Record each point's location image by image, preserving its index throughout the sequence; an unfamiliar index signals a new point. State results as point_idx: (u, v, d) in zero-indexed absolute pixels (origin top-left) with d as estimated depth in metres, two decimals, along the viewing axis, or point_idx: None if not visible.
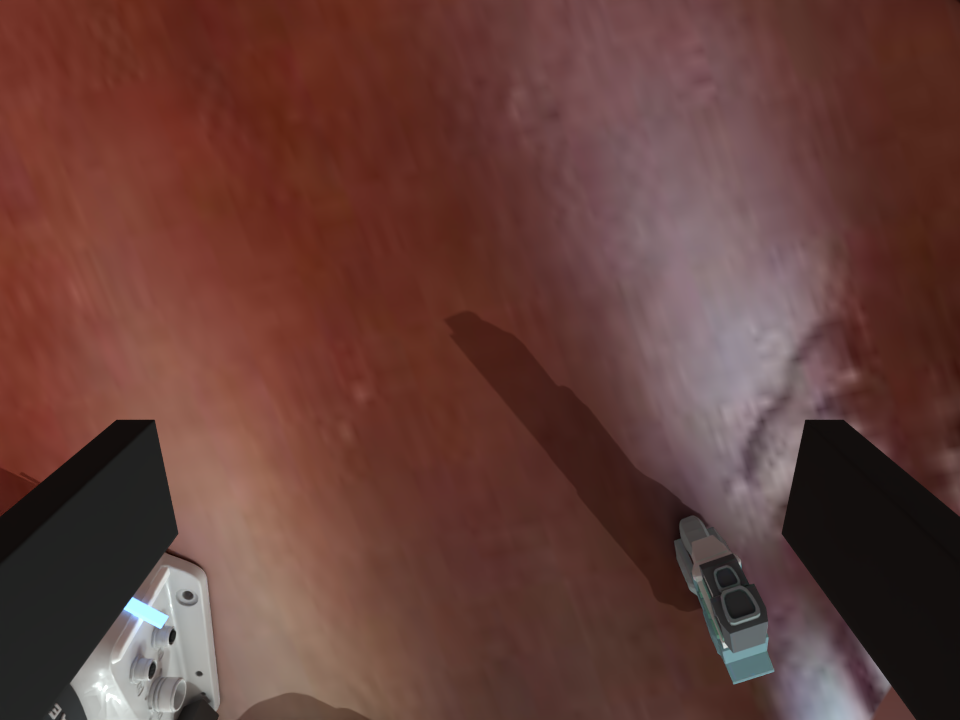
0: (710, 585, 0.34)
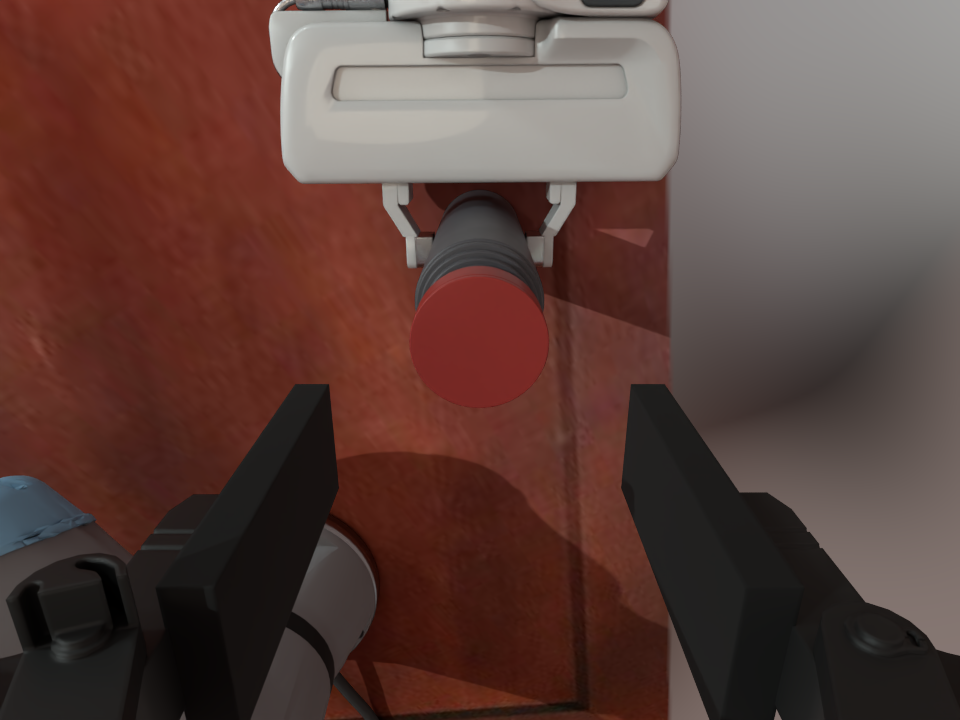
0: None
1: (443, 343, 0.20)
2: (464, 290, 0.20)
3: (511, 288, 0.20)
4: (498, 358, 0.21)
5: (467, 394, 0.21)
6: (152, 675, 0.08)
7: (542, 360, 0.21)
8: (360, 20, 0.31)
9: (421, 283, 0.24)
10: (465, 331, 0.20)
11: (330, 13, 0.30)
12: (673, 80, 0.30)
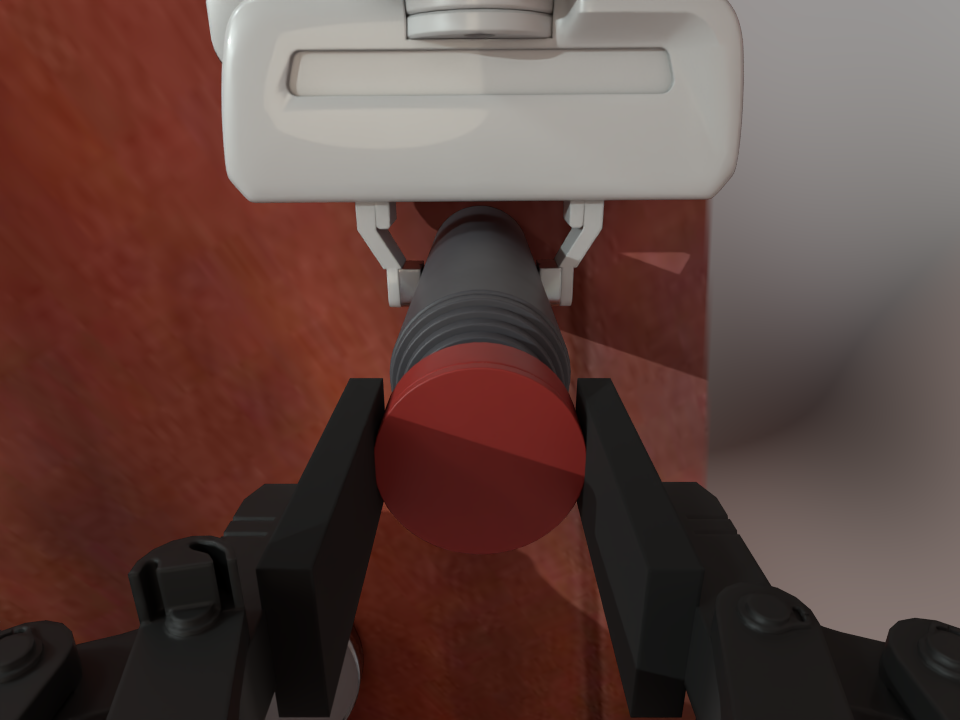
0: None
1: (425, 464, 0.13)
2: (457, 388, 0.13)
3: (530, 385, 0.13)
4: (509, 486, 0.13)
5: (462, 536, 0.14)
6: (254, 658, 0.08)
7: (576, 489, 0.13)
8: None
9: (398, 352, 0.17)
10: (458, 447, 0.13)
11: None
12: (735, 69, 0.23)
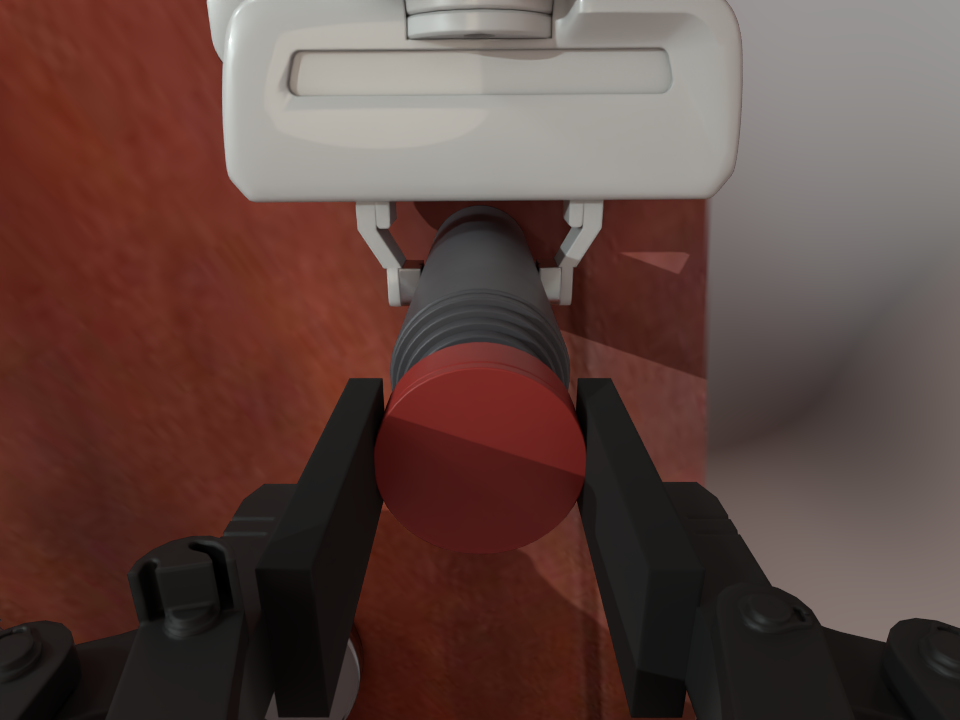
0: None
1: (484, 513, 0.14)
2: (398, 495, 0.14)
3: (383, 435, 0.13)
4: (498, 438, 0.13)
5: (564, 474, 0.13)
6: (253, 658, 0.08)
7: (492, 374, 0.13)
8: None
9: (398, 351, 0.17)
10: (461, 487, 0.14)
11: None
12: (734, 69, 0.23)
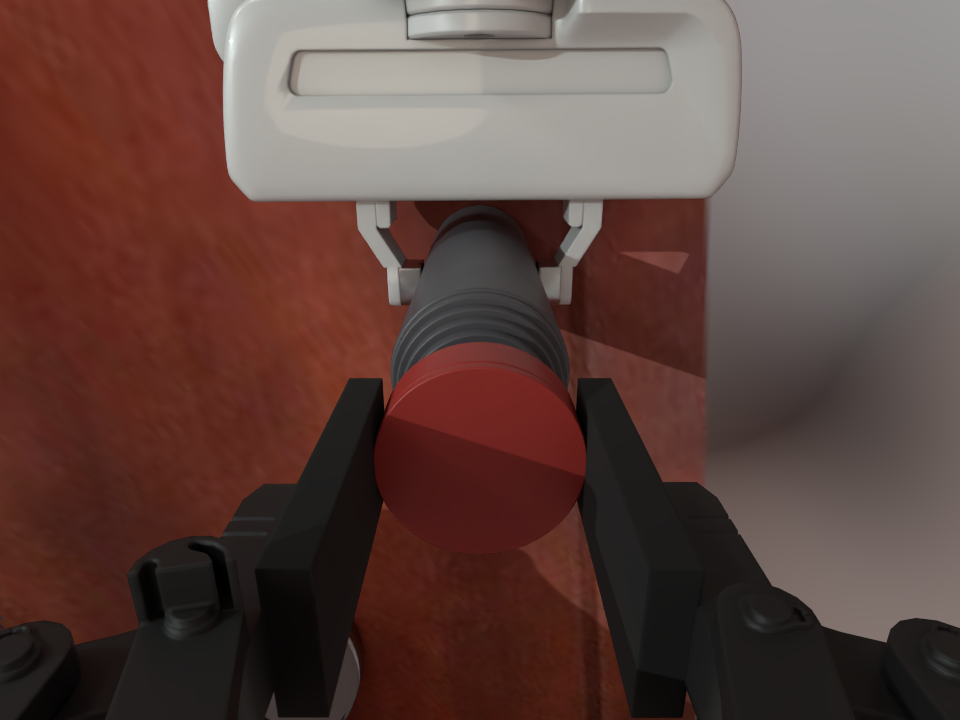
0: None
1: (534, 457, 0.13)
2: (521, 531, 0.14)
3: (458, 548, 0.14)
4: (445, 454, 0.13)
5: (476, 389, 0.13)
6: (253, 658, 0.08)
7: (379, 468, 0.13)
8: None
9: (398, 350, 0.17)
10: (505, 480, 0.13)
11: None
12: (733, 69, 0.23)
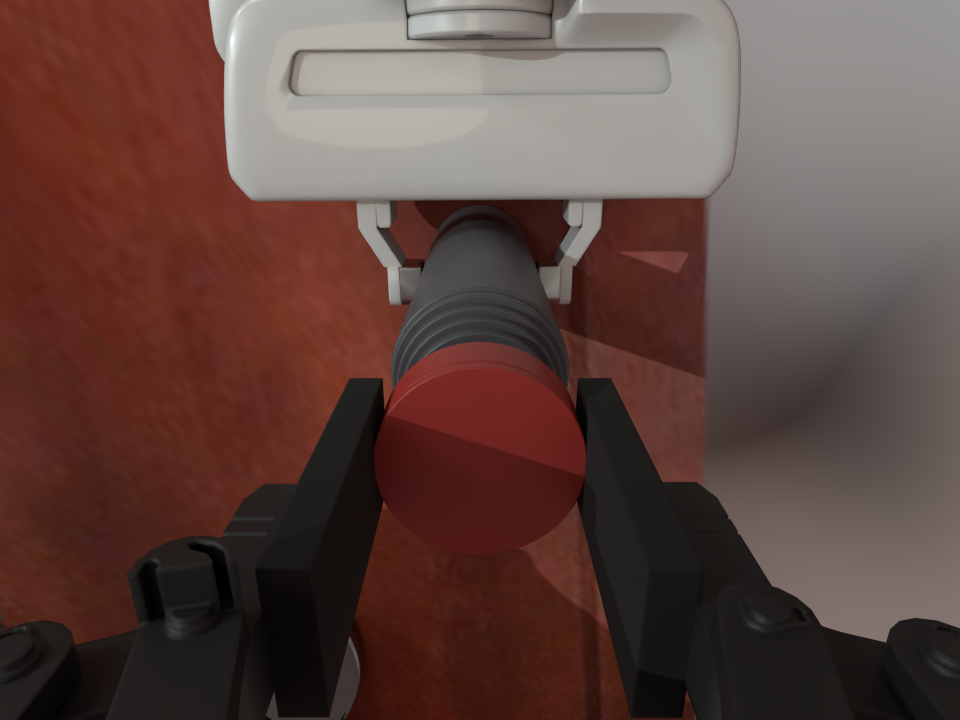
0: None
1: (461, 420, 0.13)
2: (554, 419, 0.13)
3: (580, 476, 0.13)
4: (471, 497, 0.14)
5: (397, 479, 0.13)
6: (253, 658, 0.08)
7: (493, 549, 0.14)
8: None
9: (399, 349, 0.17)
10: (493, 442, 0.13)
11: None
12: (732, 69, 0.23)
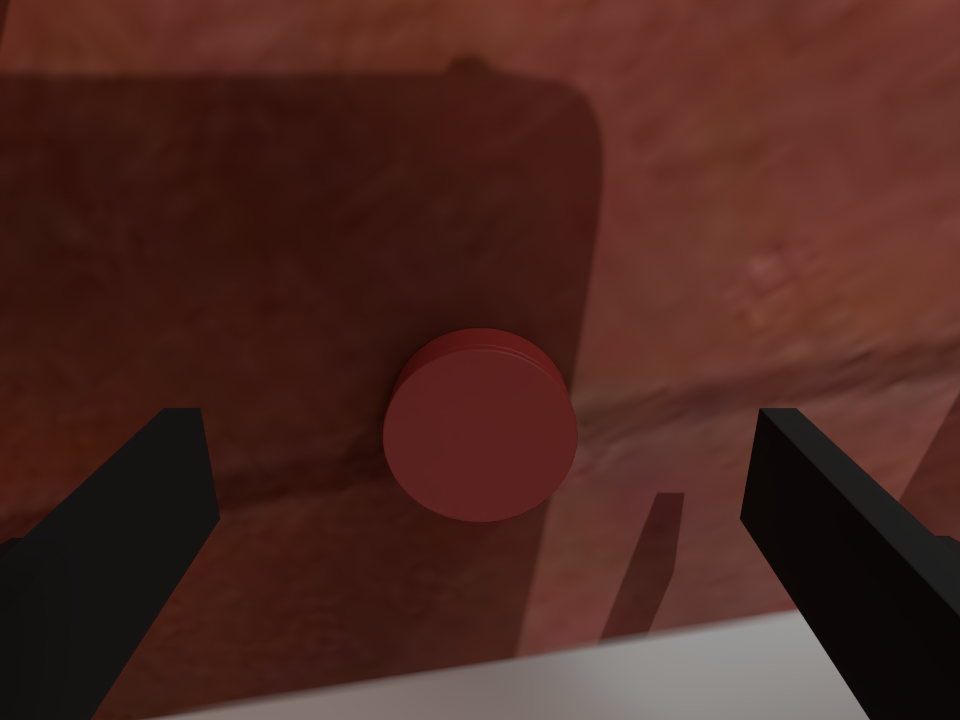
0: None
1: (463, 398, 0.14)
2: (547, 397, 0.14)
3: (571, 449, 0.15)
4: (471, 469, 0.15)
5: (404, 452, 0.15)
6: None
7: (492, 518, 0.15)
8: None
9: None
10: (491, 418, 0.14)
11: None
12: None
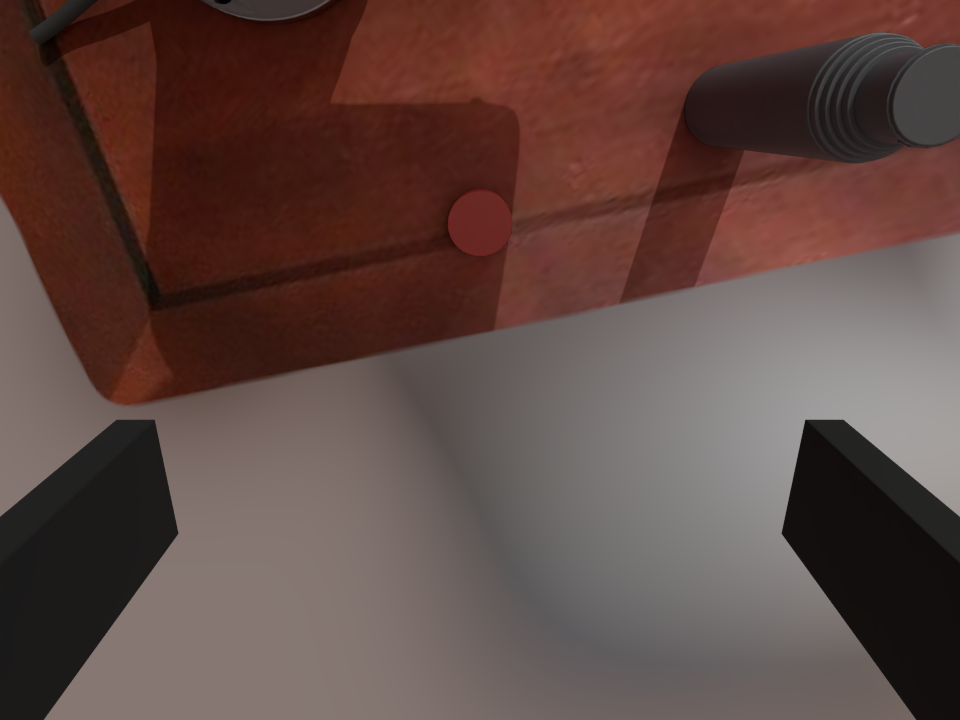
0: None
1: (474, 208, 0.44)
2: (501, 208, 0.44)
3: (510, 227, 0.44)
4: (477, 235, 0.44)
5: (454, 228, 0.44)
6: None
7: (484, 254, 0.45)
8: None
9: (904, 37, 0.25)
10: (483, 215, 0.44)
11: None
12: None
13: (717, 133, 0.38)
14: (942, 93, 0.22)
